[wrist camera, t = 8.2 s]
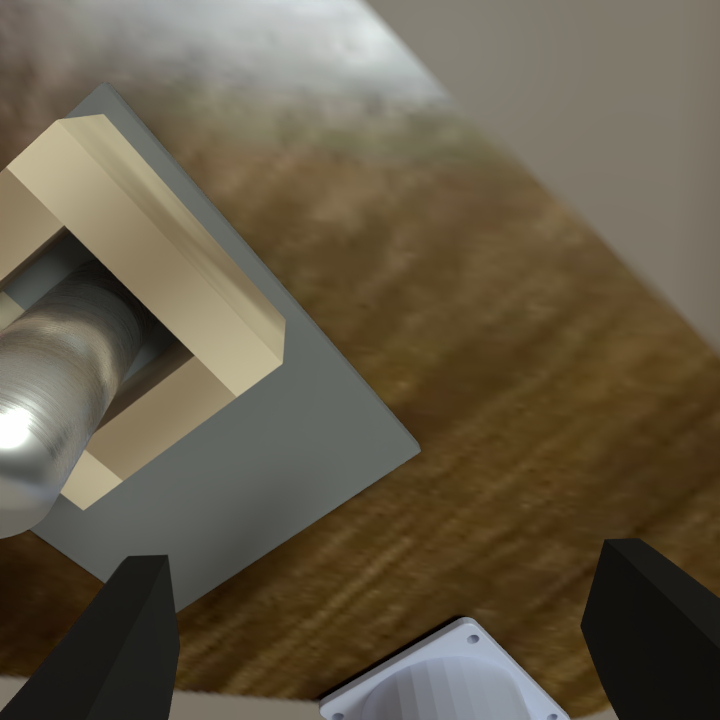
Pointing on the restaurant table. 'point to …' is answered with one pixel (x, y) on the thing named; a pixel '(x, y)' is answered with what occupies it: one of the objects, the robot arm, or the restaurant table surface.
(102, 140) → the birch square frame
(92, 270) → the metal pin
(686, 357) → the restaurant table surface
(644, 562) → the robot arm
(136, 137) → the charcoal mat
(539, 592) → the restaurant table surface
